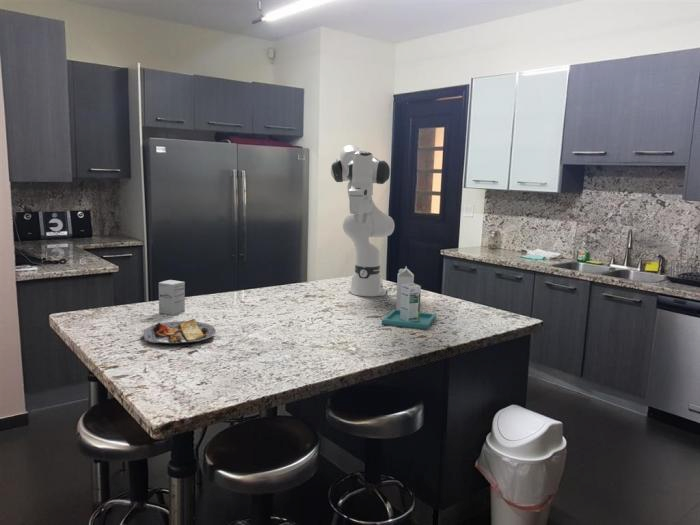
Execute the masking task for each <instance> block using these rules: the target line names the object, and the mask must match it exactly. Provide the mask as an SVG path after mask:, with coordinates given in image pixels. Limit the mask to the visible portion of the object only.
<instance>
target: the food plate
mask: <svg viewBox="0 0 700 525" xmlns="http://www.w3.org/2000/svg"><path fill="white" fill-rule="evenodd" d="M142 332H143V338H144V340H145V341H146V342H150V343H156V344H158V343H159V344H168V345H173V344H174V345H176V344H177V345H178V344H188V343H196V342H201V341H203V340H207V339H208V338H211V337H213V336H214V335H215V334H216V329H215V328H214V327H213V325H211V324H208V323H206V322H200V321H197V320H196V319H195V318H192V319H190V320H184V321H177V320H176V321H175V320H174V321H168V322H162V323H161V322H157V324H154V325H151V326H148V327H146V328H145V329H144V330H143V331H142ZM182 340H184V341H182Z"/></svg>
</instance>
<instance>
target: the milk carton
mask: <svg viewBox="0 0 700 525" xmlns="http://www.w3.org/2000/svg"><path fill="white" fill-rule="evenodd" d="M397 272H398V273H397V282H396V297H395V298H396V301H395V309H396V310H401V285H402V284H415V282H414V281H415V274H414V273H413V272H411V270H410V269H409V268H408V267H404V268H399V270H398V271H397Z"/></svg>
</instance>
